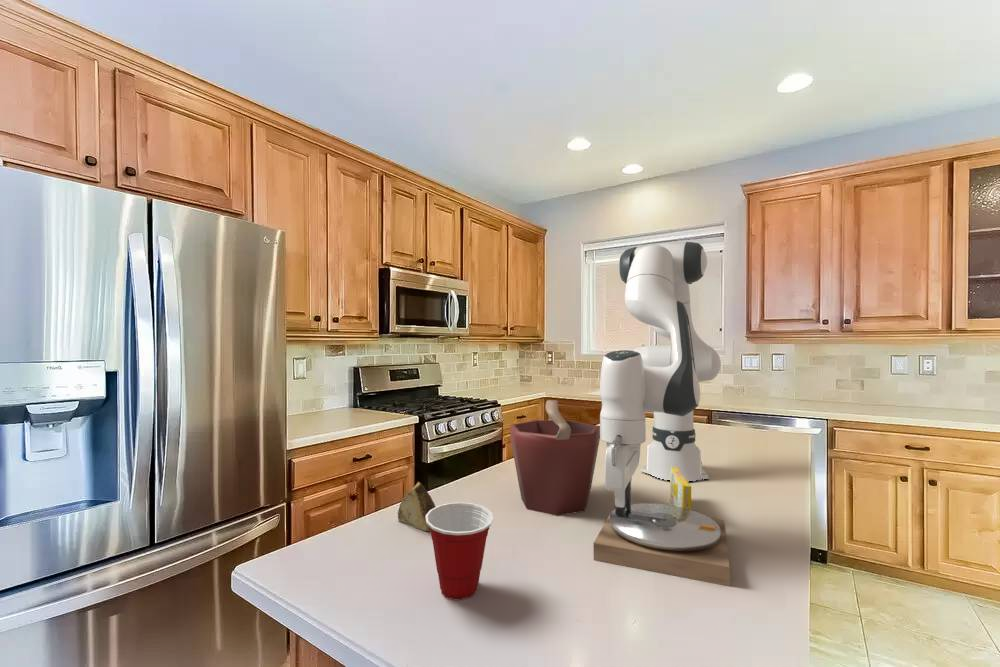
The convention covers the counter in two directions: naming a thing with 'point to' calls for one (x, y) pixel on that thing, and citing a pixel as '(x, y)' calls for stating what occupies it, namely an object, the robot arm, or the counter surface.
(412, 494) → the rock
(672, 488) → the candy box
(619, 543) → the walnut base
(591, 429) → the bucket
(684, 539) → the handwheel
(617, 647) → the counter surface
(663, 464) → the robot arm
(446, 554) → the plastic cup
